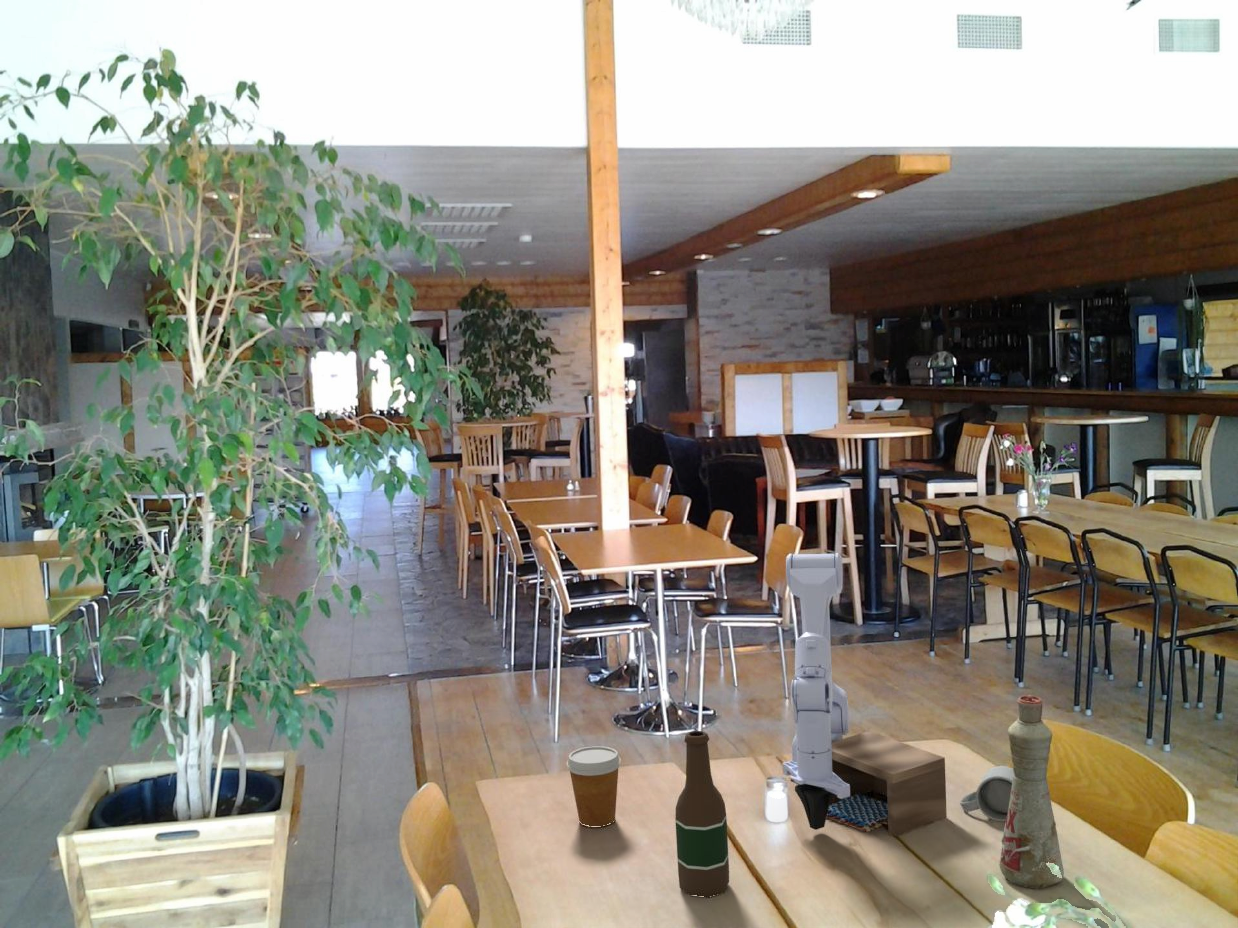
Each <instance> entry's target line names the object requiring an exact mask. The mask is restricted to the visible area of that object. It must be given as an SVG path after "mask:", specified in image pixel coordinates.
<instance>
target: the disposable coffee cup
mask: <svg viewBox="0 0 1238 928" xmlns="http://www.w3.org/2000/svg"><path fill="white" fill-rule="evenodd" d="M621 762H622V759H621V757H620V756H619V754H618V751H617V750H616V749H614V748H612V747H608V746H602V745H601V746H600V745H599V746H598V745H597V746H595V745H594V746H587V747H586V746H585V747H580V748H578V749H575V750H573V751H572V752H570V753H569V754H568V760H567V761H566V766H567V768H568V770H569V774H570V778H571V785H572V789H573V795H574V800H575V804H576V805H575V807H576V810H577V811H576V812H577V816H578V822H579V821H580V822H581V823H582V824H585V825H589V826H603V825H607V824H609V823H612V822H613V821H614V820H615V821H616V810H617V796H618V795H617V794H618V783H619V782H618V781H619V780H618V779H619V767H620V765H621ZM615 821H614V822H615ZM580 822H579V823H580ZM614 822H613V823H614ZM613 823H612V824H613Z"/></svg>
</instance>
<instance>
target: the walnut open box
mask: <svg viewBox="0 0 1238 928" xmlns="http://www.w3.org/2000/svg"><path fill="white" fill-rule="evenodd" d="M831 748H832V772H833V773H835V774H836V775H837V776H838V777H839V778H840V779H841V780H842V781H844V782H845V783H847V784H849V785H850V796H849V797H846V798H850V797H852V796H853V795H857V794H858V793H860V794H861V795H862V796H863V795H866V794H867V793H870V792H876V793H878V794H880V795H882V796H885V797H886V798H887V803H888V821H887V822H888V824H887V825H888V826H887V827H888V834H889V835H891V836H894V837H897V836H900V835H903V834H906V833H909V832H910V831H914V830H916V829H919V828H923V827H925V826H928V825H931V824H933V823H935V822H939V821H941V820H944V819H947V818H948V817H947V816H948V815H947V790H946V789H947V786H946V785H947V784H946V757H945V756H941V755H938V754H936V753H933V752H930V751H927V750H924V749H921V748H919V747H915V746H912V745H909V744H908V743H904V742H901V741H899V740H896V739H893V738H890V737H887V736H883V735H881V734H879V733H875V732H873V731H870V730H869V731H865V732H862V733H858V734H855V735H851V736H847V737H846V738H845V737H844V738H843V739H841V740H838V741H834V742H831ZM844 799H845V798H843V799H840V798H838V797H837V795H836V794H835V795H834V797H833V799H832V801H831V803H830V806H831V805H833V804H836V803H837V802H841V801H842V800H844Z"/></svg>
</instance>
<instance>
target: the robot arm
mask: <svg viewBox="0 0 1238 928" xmlns="http://www.w3.org/2000/svg"><path fill="white" fill-rule="evenodd" d="M785 559H786V560H785V580H786V585H787V586H788V589H789V590H790V592H791V595H794V596H795V597H797V598H799V601H800V613H801V614H800V615H801V628H802V629H801V630H802V635H800V637H798V639H796V641H795V645H794V646H795V648H794V649H795V650H794V679H791V685H790V701H791V707H792V711H793V722H794V730H795V735H794V737H793V740H792V743H791V757H792V760H788V761H785V762H782V763H781V764H782V765H781V766H782V775H785V776H789V779H790V781H791V780H792V781H793V782H794V783H795V784H797V785H795V786H794V791H795V793H796V795H797V796H798V797H799V800H800V801H801V803H802V806H803V809H804V811H805V814H806V817H807V821H808V824H809V827H810V828H811V829H813V830H814V831H815V830H820V829H822V828H825V826H826V825H825V824H826V821H827V818H826V816H827V815H828V814H827V812H828V809H829V806H831V805H830V803H831V801H832V799H833V797H834V795H835V794H836V795H837V797H838V798H840V799H843V798H846V797H849V796H850V785H849V784H847V783H845V782H844V781H842V780H841V779H840V778H839V777H838V776H837V775H836V774H835V773H833V772H832V748H831V742H834V741H838V740H841V739H844V738H843V737H844V736H848V735H847V734H849V732H850V707H849V701H848V700H849V699H848V694H847V692H846V691H845V690H844V689H843V688H841V687H840V686H839V685H838V684H836V683H834V682H833V674H832V671H833V670H832V649H831V648H832V647H831V646H832V645H831V644H832V643H831V619H830V603H831V601H832V598H833V597H834V596H837V595H840V594H842V590H843V589H844V588H843V585H844V584H843V582H844V581H843V579H844V578H843V575H844V574H843V571H844V570H843V556H842V555H841V554H840V552H835V553H799V554H798V553H796V554H794V553H789V554H788V555H787V556H786V558H785Z"/></svg>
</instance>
